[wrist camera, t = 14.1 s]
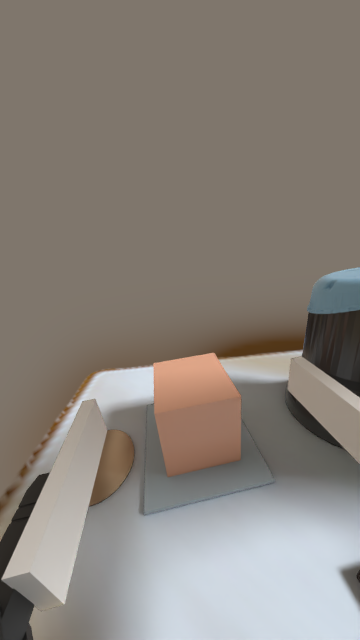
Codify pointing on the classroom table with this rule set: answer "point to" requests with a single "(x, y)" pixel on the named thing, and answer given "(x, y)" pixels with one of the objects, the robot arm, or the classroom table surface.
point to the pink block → (196, 414)
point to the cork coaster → (112, 465)
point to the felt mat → (198, 474)
